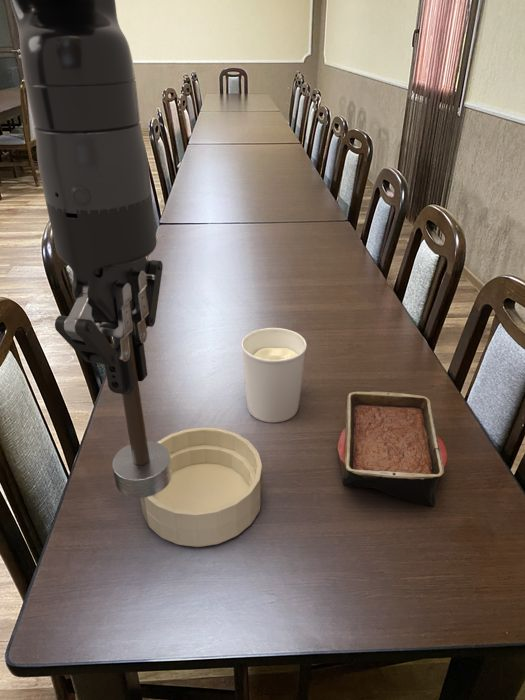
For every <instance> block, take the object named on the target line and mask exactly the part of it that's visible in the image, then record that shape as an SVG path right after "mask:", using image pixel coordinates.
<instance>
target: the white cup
mask: <svg viewBox="0 0 525 700" xmlns="http://www.w3.org/2000/svg"><path fill="white" fill-rule="evenodd" d="M240 346H241V352H242V364H243V375H244V385H245V386H244V387H245V400H246V407H247V411H248V413H249V414H250V415H251V416H252V417H253V418H255V419H257V420H258V421H261V422H265V423H273V424H275V423H283V422H286V421H288V420H290V419H292V418H294V416H295V415H296V414H297V413H298V412H299V411H298V410H299V407H300V400H301V393H302V384H303V376H304V368H305V361H306V360H305V359H306V351H307V347H308V345H307V341H306V339H305V338H304V337H303V336H302V334H300V333H298V332H296V331H294V330H290V329H288V328H283V327H282V328H281V327H265V328H260V329H256V330H252V331H251V332H249V333H247V334H246V335H245V336H244V337H243V339H242V340H241V345H240Z"/></svg>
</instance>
